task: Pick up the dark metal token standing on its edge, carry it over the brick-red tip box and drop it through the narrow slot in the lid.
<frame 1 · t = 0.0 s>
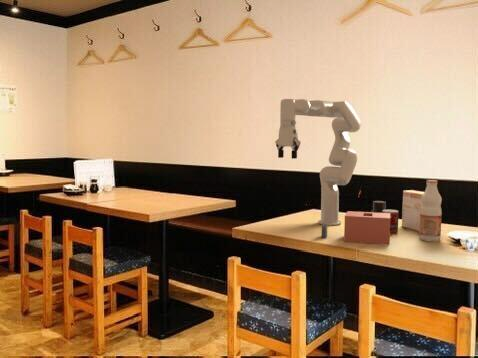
hand: (287, 158, 244), 37 cm above the table, tool pointing down, fingers open, 9 cm apart
fruit juice: (429, 239, 228), on the table
tip box: (367, 239, 227), on the table
ink bottle: (378, 223, 269), on the table
canned food: (389, 232, 245), on the table
token: (324, 237, 233), on the table
coffeecake box: (415, 228, 254), on the table
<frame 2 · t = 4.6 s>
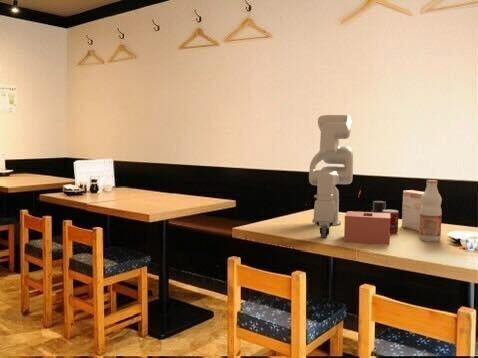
hand: (324, 235, 233), 1 cm above the table, tool pointing down, fingers closed on token, 1 cm apart
token: (324, 237, 233), on the table, touching gripper
everything else where it was.
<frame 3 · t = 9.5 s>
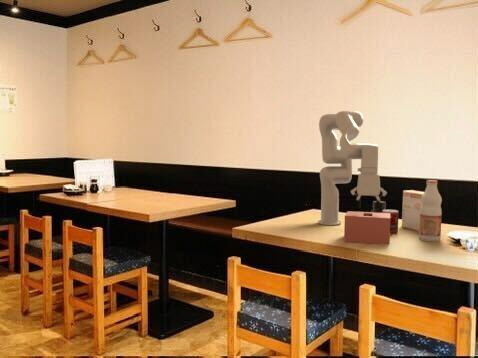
hand: (368, 208, 226), 15 cm above the table, tool pointing down, fingers open, 7 cm apart
token: (367, 232, 224), point 4 cm above the table, tilted 90°, touching tip box
everything else where it was.
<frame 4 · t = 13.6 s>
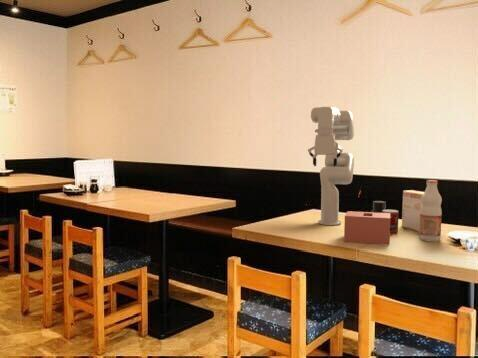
hand: (324, 166, 242), 33 cm above the table, tool pointing down, fingers open, 9 cm apart
nothing on the table moved.
at the end: token inside the target area on the tip box (2.9 cm from its centre), point 4.0 cm above the tip box's base; the gripper is holding nothing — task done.
